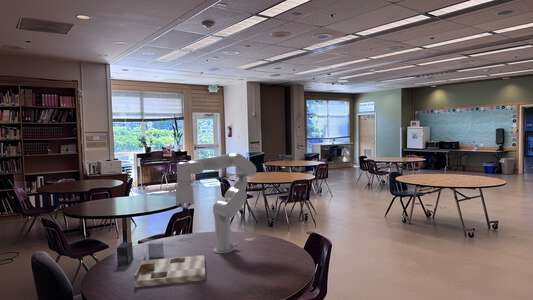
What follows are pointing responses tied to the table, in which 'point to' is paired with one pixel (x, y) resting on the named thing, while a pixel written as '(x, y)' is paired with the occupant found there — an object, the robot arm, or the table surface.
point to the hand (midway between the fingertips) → (185, 214)
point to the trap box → (172, 271)
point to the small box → (124, 253)
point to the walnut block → (147, 265)
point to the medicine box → (155, 249)
